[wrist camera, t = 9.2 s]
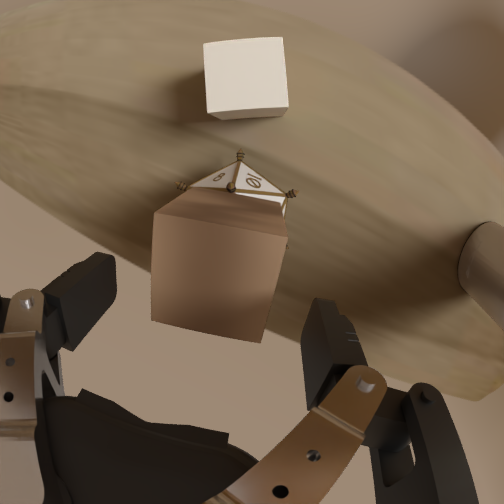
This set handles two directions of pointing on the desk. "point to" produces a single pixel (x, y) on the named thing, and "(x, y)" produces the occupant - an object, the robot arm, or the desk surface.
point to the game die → (242, 183)
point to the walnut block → (216, 262)
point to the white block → (246, 78)
